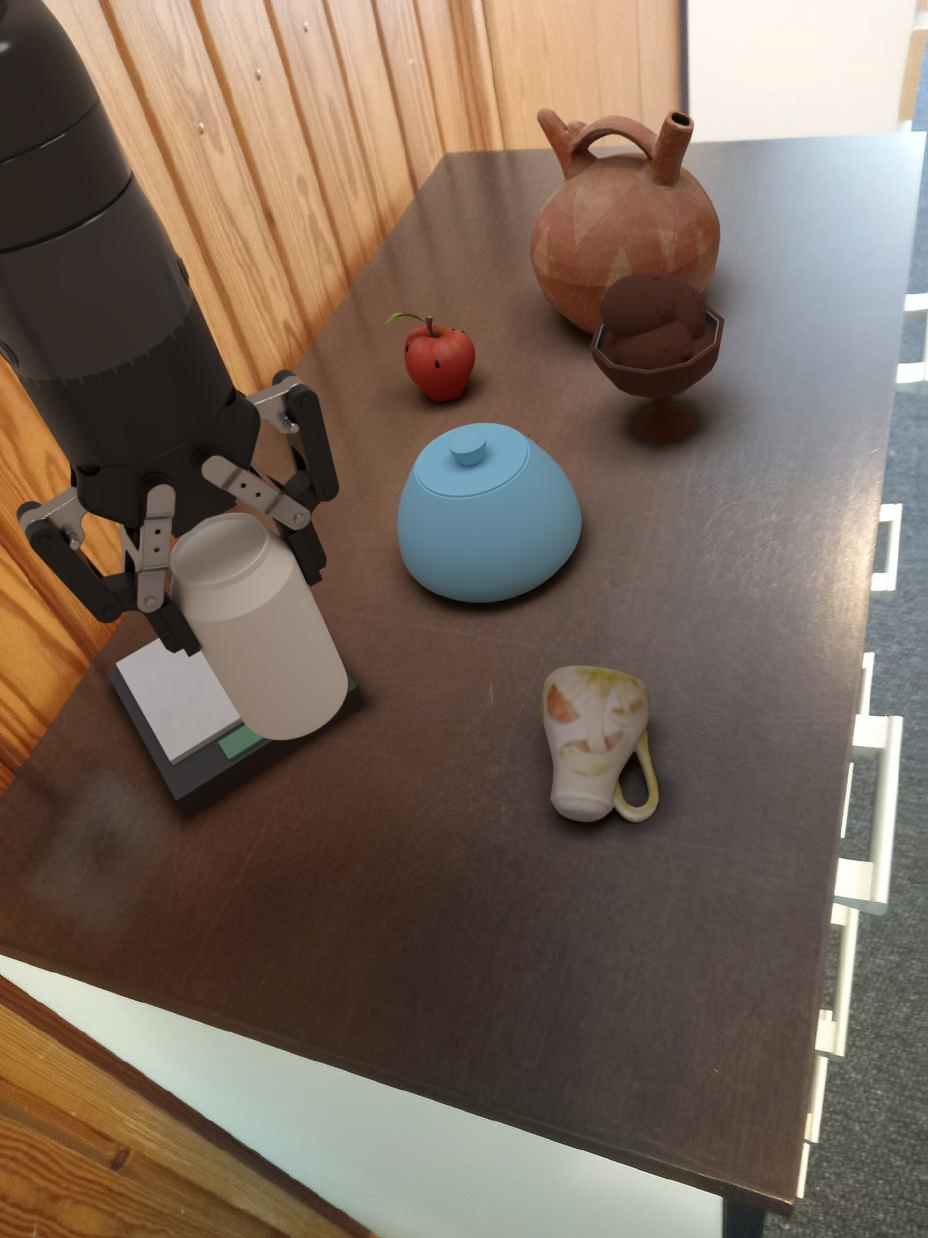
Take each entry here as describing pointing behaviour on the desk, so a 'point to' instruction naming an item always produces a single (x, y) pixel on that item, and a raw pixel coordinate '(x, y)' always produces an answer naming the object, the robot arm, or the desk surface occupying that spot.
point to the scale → (199, 724)
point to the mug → (596, 740)
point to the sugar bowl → (486, 515)
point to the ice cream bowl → (657, 347)
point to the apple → (438, 359)
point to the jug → (620, 214)
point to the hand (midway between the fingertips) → (249, 609)
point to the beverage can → (257, 625)
